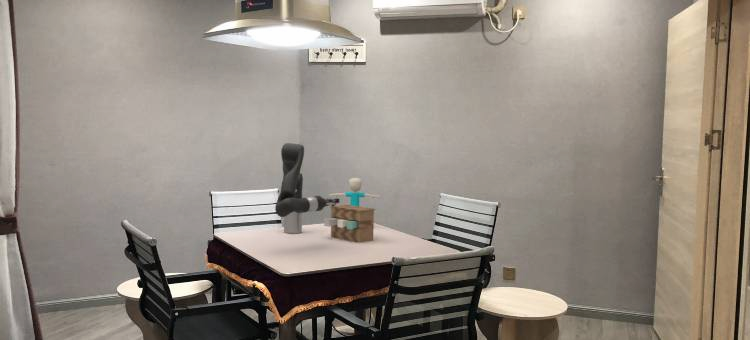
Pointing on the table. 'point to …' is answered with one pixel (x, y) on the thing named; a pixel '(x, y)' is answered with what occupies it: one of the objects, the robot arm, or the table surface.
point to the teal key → (352, 224)
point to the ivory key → (342, 223)
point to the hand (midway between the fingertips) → (338, 200)
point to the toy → (354, 186)
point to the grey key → (331, 222)
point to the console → (353, 214)
